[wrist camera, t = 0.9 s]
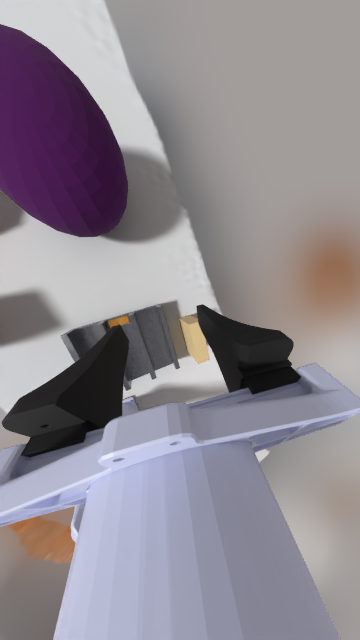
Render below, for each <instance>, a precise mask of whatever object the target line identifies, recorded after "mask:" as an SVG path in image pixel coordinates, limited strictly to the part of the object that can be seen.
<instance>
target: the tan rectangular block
mask: <svg viewBox="0 0 360 640" xmlns="http://www.w3.org/2000/svg"><path fill="white" fill-rule="evenodd" d="M179 319H180V323H181V327H182V331H183V335H184V339H185V343H186V347H187V350H188V352H189V354H190V355H191V356H192V357H193V358H194V360H195V361H196V362H197V363H198V364H200V363H203V362H205V361H207V360H210V358H209V354H208V349H207V344H206V339H205V337H204V335H203V333H202V331H201V329H200V326H199V324H198V318H195V317H193V316H191V315H188V316H185V317H182V318H179Z"/></svg>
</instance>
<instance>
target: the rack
mask: <svg viewBox="0 0 360 640" xmlns="http://www.w3.org/2000/svg"><path fill="white" fill-rule="evenodd" d="M116 325H121V327H122V329H123V331H124V332H125V334H126V336H127V338H128V339H129V351H128V357H127V362H126V367H125V372H124V381H123V384H124V387H125V389H126V391H127V390H129V389H131V380H133V379H136V378H138V377H141V376H143V375H146V374H148V373H150V375H151V377H152V380H153V379H155V378H156V373H155V370H158V369H160V368H162V367H165V366H167V365H170V364H172V363H173V364H174V366H175V368H176V369H178V368H180V367H179V363H178V360H177V356H176V353H175V349H174V346H173V343H172V339H171V336H170V332H169V329H168V325H167V322H166V318H165V315H164V312H163V308H162V306H161V305H160V304H158V305H154V306H151V307H148V308H144V309H141V310H137V311H134V312H130V313H127V314H124V315H120V316H117V317H113V318H110V319H106V320H103V321H100V322H96V323H93V324H89V325H86V326H82V327H79V328H76V329H72V330H70V331H68V332H66V333H65V334H63V335H61V336H60V337H61V338H62V340H63V342H64V344H65V345H66V347H67V349H68V351H69V353H70V354H71V356H72V358H73V360H74V361H75V362H76V361H78V360H79V359H80V358H81V357H82V356H84V355H85V354H86V353H87V352H88V351H89V350H90V349H91V348H92V347H93V346H94V345H95V344H96V343H97V342H98V341H99V340H100V339H101V338H102V337H103V336H104V335H105V334H106V333H107V332H108V331H109V330H110V329H111V328H112V327H113V326H116Z"/></svg>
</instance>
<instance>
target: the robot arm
mask: <svg viewBox="0 0 360 640" xmlns="http://www.w3.org/2000/svg"><path fill="white" fill-rule="evenodd" d="M197 315H198V324H199V326H200V329H201V331H202V333H203V335H204V337H205V338H206V340H207V342H208V344H209V346H210V347H211V349H212V351H213V353H214V355H215V358H216V360H217V362H218V365H219V367H220V370H221V372H222V375H223V377H224V380H225V382H226V385H227V388H228V390H229V393H227V394H224V395H220V396H216V397H213V398H209V399H206V400H202V401H198V402H195V403H191V404H188V405H186V404H185V403H180V402H174V403H167V404H163V405H160V406H156V407H152V408H149V409H145V410H141V411H139V409H138V407H137V405H136V403H135V401H134V398H133V397H129V398H127V399H125V400H123V381H124V372H125V367H126V362H127V357H128V351H129V339H128V338H127V336H126V334H125V332H124V331H123V329H122V327H121V325H116V326H113V327H112V328H111V329H110V330H109V331H108V332H107V333H106V334H105V335H104V336H103V337H102V338H101V339H100V340H99V341H98V342H97V343H96V344H95V345H94V346H93V347H92V348H91V349H90V350H89V351H88V352H87V353H86V354H85V355H84V356H82V357H81V358H80V359H79V360H78V361H76V362H75V363H74V364H72V365H71V366H70V367H68V368H67V369H66V370H64V371H63V372H62V373H60V374H59V375H57V376H56V377H54V378H53V379H51V380H50V381H48V382H47V383H45V384H43V385H42V386H40V387H38V388H37V389H35V390H33V391H32V392H30V393H28V394H27V395H25V396H23V397H21V398H20V399H19V400H18V401H17V402H16V404H15V405H14V406H13V408H12V409H11V410H10V412H9V413H8V414H7V415H6V417H5V418H4V419H3V421H2V425H3V427H4V428H5V429H7V430H9V431H12V432H15V433H18V434H22V435H25V436H29V437H31V438H30V440H29V442H28V443H27V444H20V445H16V446H12V447H8V448H5V449H1V450H0V527H1V526H5V525H8V524H11V523H15V522H18V521H22V520H25V519H29V518H32V517H36V516H39V515H43V514H46V513H50V512H54V511H58V510H61V509H65V508H69V507H73V506H75V511H74V516H73V519H72V523H71V530H72V532H71V537H72V539H73V540H74V541H75V543H76V546H75V550H74V554H73V558H72V563H71V567H70V571H69V576H68V579H67V584H66V589H65V592H64V596H63V600H62V605H61V609H60V613H59V618H58V621H57V626H56V630H55V634H54V638H53V640H341V639H340V637H339V635H338V633H337V631H336V628H335V626H334V624H333V622H332V620H331V618H330V616H329V613H328V611H327V609H326V607H325V605H324V602H323V600H322V598H321V596H320V594H319V592H318V589H317V587H316V585H315V583H314V581H313V579H312V576H311V574H310V572H309V570H308V568H307V566H306V564H305V561H304V559H303V557H302V555H301V553H300V550H299V548H298V546H297V544H296V542H295V540H294V537H293V535H292V533H291V531H290V529H289V527H288V525H287V522H286V520H285V518H284V516H283V514H282V511H281V509H280V507H279V505H278V503H277V500H276V499H275V496H274V494H273V492H272V490H271V488H270V486H269V483H268V481H267V479H266V477H265V474H264V472H263V470H262V468H261V466H260V464H259V461H258V459H257V457H256V455H255V452H258V451H260V450H263V449H266V448H269V447H272V446H275V445H278V444H280V443H283V442H286V441H289V440H291V439H295V438H297V437H300V436H303V435H306V434H309V433H312V432H315V431H318V430H321V429H324V428H327V427H331V426H334V425H337V424H340V423H342V422H344V421H345V420H347V419H349V418H351V417H353V416H355V415H356V414H358V413H360V398H359V397H358V396H356V395H355V394H354V393H353V392H352V391H350V390H349V389H348V388H347V387H345V386H344V385H343V384H342V383H340V382H339V381H338V380H337V379H336V378H334V377H333V376H332V375H331V374H329V373H328V372H327V371H326V370H325V369H323V368H322V367H321V366H320V365H318V364H317V363H313V364H309V365H305V366H302V367H299V368H297V369H295V370H294V369H293V368H292V367H291V365H292V363H291V362H290V361H289V360H288V356H289V355H290V353H291V351H292V349H293V341H292V340H291V339H290V338H288V337H287V336H286V335H285V334H284V333H282V332H281V331H279V330H271V329H265V328H260V327H255V326H250V325H247V324H243V323H240V322H237V321H234V320H232V319H229V318H227V317H224V316H222V315H220V314H218V313H217V312H215V311H213V310H211V309H210V308H208V307H206V306H205V305H198V306H197Z"/></svg>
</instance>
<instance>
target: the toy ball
mask: <svg viewBox="0 0 360 640" xmlns="http://www.w3.org/2000/svg"><path fill="white" fill-rule="evenodd" d="M0 189H1V190H2V191H3V192H4V193H5V194H7V195H8V196H9V197H10V198H11V199H12V200H13V201H14V202H16V203H17V204H18V205H19V206H20V207H21V208H22V209H23V210H25V211H26V212H27V213H28V214H29V215H31V216H32V217H34V218H36V219H38V220H39V221H41V222H43V223H45V224H46V225H48V226H50V227H52V228H54V229H55V230H57V231H60V232H64V233H67V234H71V235H75V236H78V237H96V236H99V235H102V234H104V233H107V232H109V231H110V230H112V229H113V228H114V227H115V226H116V225H117V224H118V223H119V222H120V219H121V217H122V215H123V213H124V211H125V208H126V203H127V193H128V182H127V177H126V171H125V166H124V160H123V156H122V153H121V150H120V147H119V145H118V143H117V140H116V138H115V136H114V134H113V131H112V129H111V127H110V124H109V122H108V120H107V118H106V117H105V115H104V113H103V111H102V110H101V109H100V107H99V106H98V104H97V103H96V101H95V100H94V98H93V97H92V96H91V94H90V93H89V91H88V90H87V88H86V87H85V86H84V84H83V83H82V82H81V80H80V79H79V78H78V77H77V76H76V75H75V74H74V73H73V72H72V71H71V70H70V69H69V68H68V67H67V66H66V65H65V64H64V63H63V62H62V61H61V60H60V59H59V58H58V57H57V56H56V55H55V54H54V53H52V52H51V51H50V50H49V49H48V48H47V47H45V46H44V45H42V44H41V43H39V42H38V41H36V40H34V39H33V38H31V37H30V36H28V35H27V34H25V33H24V32H22V31H20V30H17V29H14V28H11V27H7V26H4V25H1V24H0Z"/></svg>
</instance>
